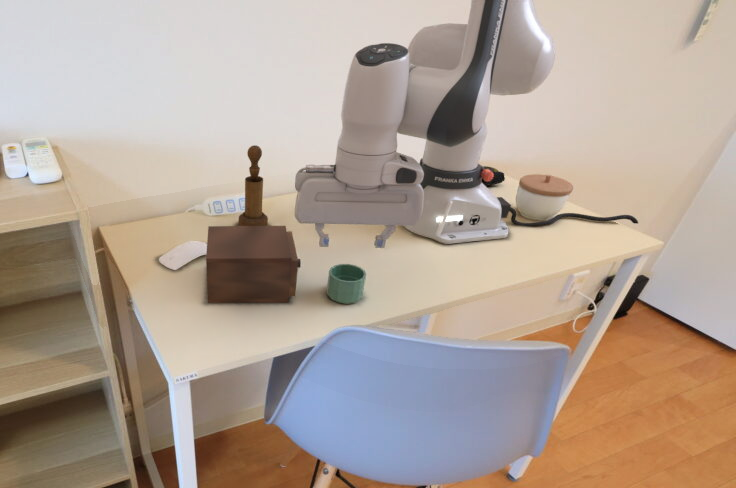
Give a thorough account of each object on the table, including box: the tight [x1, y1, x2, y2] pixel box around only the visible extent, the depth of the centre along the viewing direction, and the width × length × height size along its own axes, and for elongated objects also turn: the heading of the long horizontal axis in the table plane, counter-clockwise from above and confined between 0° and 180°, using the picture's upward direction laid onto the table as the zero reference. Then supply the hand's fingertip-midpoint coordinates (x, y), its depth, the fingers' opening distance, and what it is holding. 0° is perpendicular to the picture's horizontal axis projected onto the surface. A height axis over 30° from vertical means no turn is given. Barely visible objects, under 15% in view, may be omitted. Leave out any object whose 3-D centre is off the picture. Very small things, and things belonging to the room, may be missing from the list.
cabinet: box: [205, 225, 292, 304], centre depth 96 cm, size 15×13×9 cm
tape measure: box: [482, 165, 506, 187], centre depth 135 cm, size 7×7×4 cm
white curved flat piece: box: [158, 240, 207, 271], centre depth 107 cm, size 7×12×2 cm, turn 128°
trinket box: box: [515, 173, 574, 221], centre depth 118 cm, size 11×11×9 cm
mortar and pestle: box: [238, 144, 269, 226], centre depth 113 cm, size 7×6×18 cm
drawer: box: [287, 230, 302, 297], centre depth 96 cm, size 15×11×7 cm
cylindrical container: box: [326, 263, 367, 305], centre depth 94 cm, size 6×6×5 cm
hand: (351, 246), depth 89 cm, fingers open, 8 cm apart
